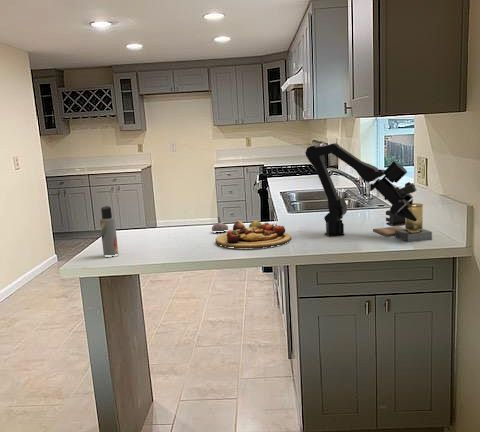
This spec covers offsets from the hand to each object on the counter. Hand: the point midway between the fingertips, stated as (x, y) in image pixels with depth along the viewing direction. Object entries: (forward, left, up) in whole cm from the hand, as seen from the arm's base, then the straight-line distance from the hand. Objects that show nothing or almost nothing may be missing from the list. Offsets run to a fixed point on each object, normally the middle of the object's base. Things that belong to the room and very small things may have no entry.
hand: (417, 219), depth 192 cm
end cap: (+8, +29, -8) cm, 31 cm away
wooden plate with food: (-61, +25, -8) cm, 66 cm away
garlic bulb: (-71, +50, -8) cm, 87 cm away
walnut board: (-3, +14, -8) cm, 16 cm away
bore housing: (-1, +1, -8) cm, 8 cm away
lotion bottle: (-119, +25, -8) cm, 122 cm away
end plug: (-1, +1, -7) cm, 7 cm away
